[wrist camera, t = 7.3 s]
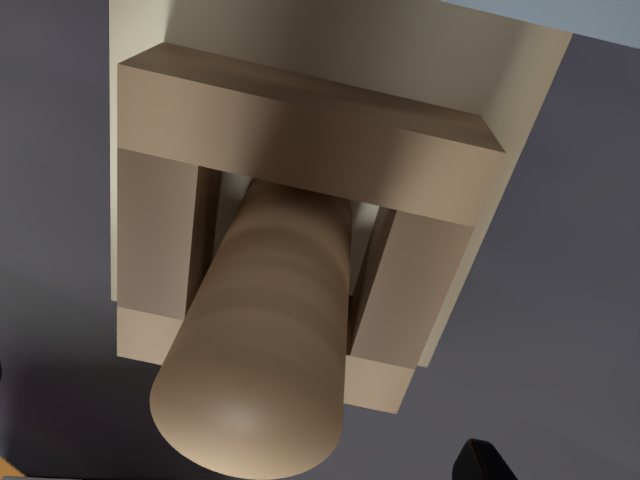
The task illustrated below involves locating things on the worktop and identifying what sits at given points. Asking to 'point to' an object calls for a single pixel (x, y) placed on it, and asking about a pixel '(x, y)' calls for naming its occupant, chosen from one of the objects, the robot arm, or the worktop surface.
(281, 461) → the peg
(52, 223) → the worktop surface
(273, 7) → the awning socket
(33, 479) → the light bulb box
